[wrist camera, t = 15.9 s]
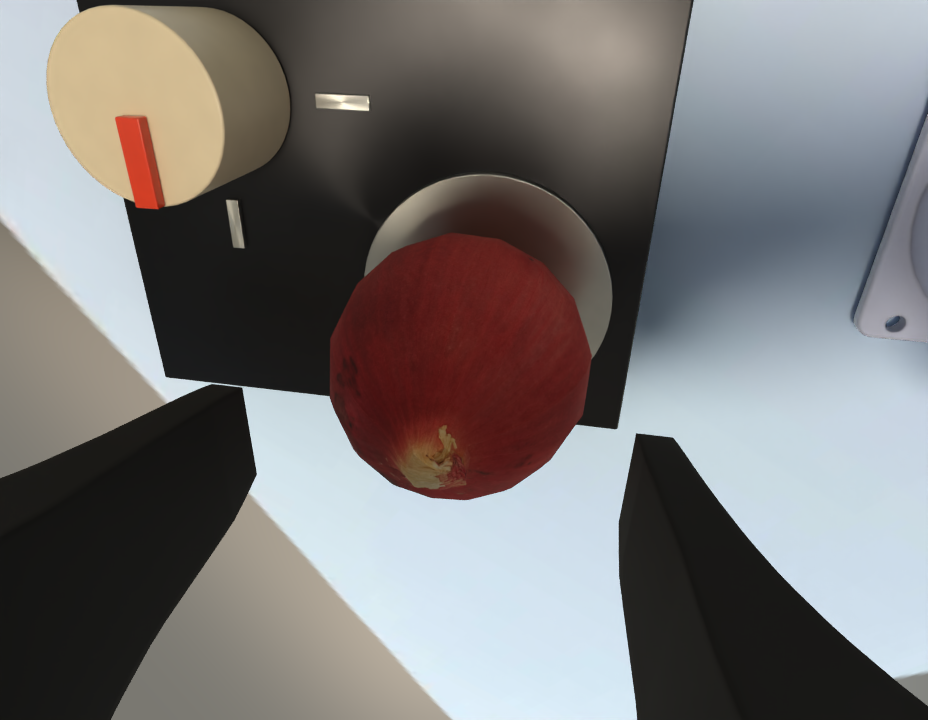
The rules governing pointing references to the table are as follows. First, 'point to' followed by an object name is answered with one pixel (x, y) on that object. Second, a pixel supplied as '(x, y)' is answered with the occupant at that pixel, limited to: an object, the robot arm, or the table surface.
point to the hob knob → (166, 99)
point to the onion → (459, 366)
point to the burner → (509, 233)
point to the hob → (412, 166)
